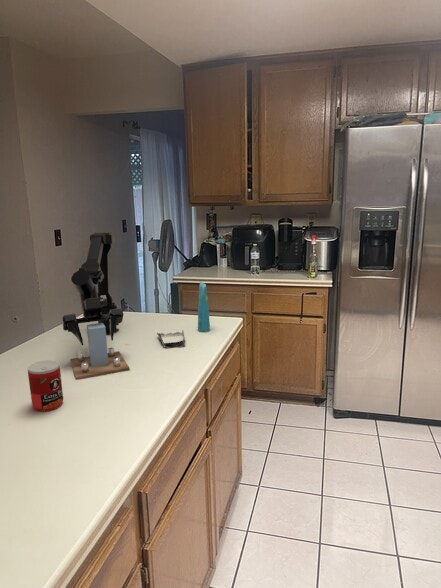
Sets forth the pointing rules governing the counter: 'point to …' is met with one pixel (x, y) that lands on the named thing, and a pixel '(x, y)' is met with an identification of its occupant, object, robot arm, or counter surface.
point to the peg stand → (85, 369)
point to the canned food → (45, 385)
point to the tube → (203, 309)
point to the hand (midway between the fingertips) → (97, 342)
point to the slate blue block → (97, 344)
